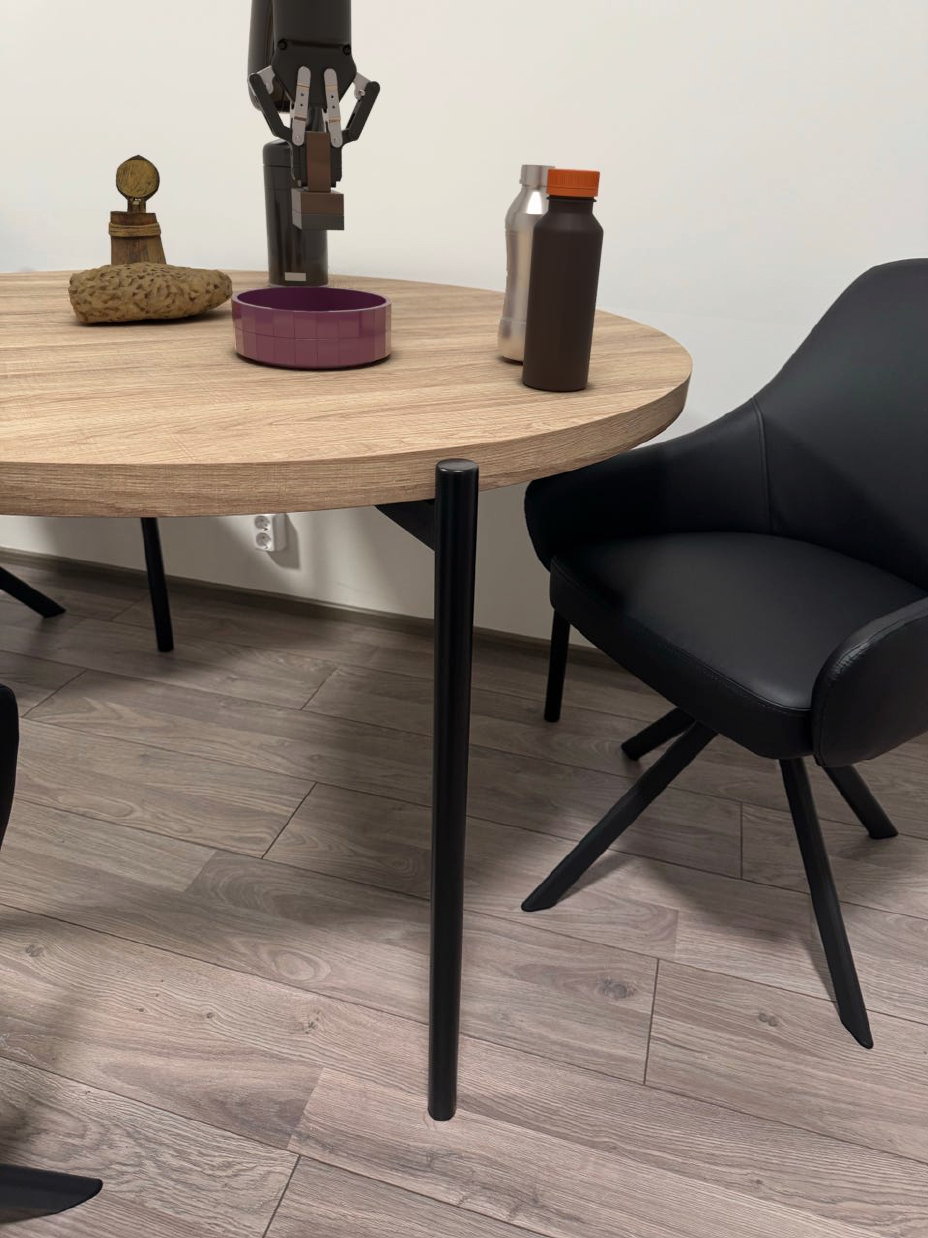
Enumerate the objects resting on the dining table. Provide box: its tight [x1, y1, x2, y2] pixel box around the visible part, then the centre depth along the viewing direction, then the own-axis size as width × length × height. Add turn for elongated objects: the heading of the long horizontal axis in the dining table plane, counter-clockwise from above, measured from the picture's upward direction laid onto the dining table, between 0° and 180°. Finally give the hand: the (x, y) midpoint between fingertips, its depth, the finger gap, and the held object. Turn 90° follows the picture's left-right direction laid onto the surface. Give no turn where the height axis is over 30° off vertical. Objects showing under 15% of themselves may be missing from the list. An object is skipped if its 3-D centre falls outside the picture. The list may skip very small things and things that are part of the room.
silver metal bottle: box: [496, 164, 556, 363], centre depth 99 cm, size 6×7×20 cm
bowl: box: [230, 286, 393, 370], centre depth 101 cm, size 17×17×6 cm
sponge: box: [67, 262, 234, 324], centre depth 115 cm, size 13×8×20 cm
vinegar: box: [521, 168, 605, 392], centre depth 90 cm, size 7×7×20 cm
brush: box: [292, 131, 345, 231], centre depth 95 cm, size 6×4×9 cm
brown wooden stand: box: [107, 154, 168, 266], centre depth 128 cm, size 9×14×18 cm, turn 8°
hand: (316, 185), depth 95 cm, fingers closed on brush, 2 cm apart
